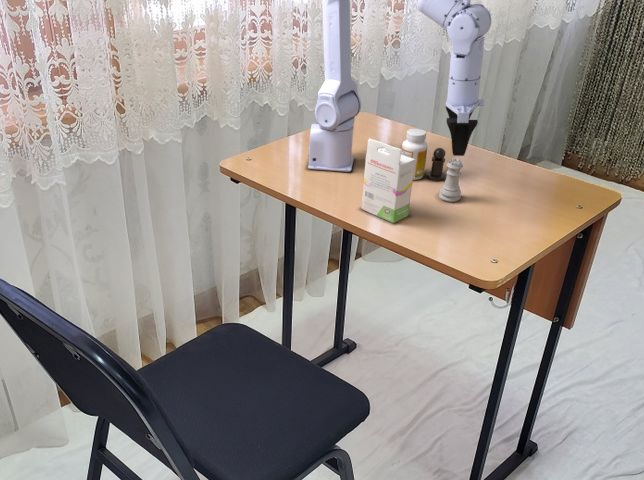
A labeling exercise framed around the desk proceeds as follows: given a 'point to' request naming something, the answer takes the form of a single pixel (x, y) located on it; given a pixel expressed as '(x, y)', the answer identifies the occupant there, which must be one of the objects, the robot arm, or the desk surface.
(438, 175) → the ebony pawn
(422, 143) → the supplement bottle
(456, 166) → the rook chess piece
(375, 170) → the ink box
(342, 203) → the desk surface
